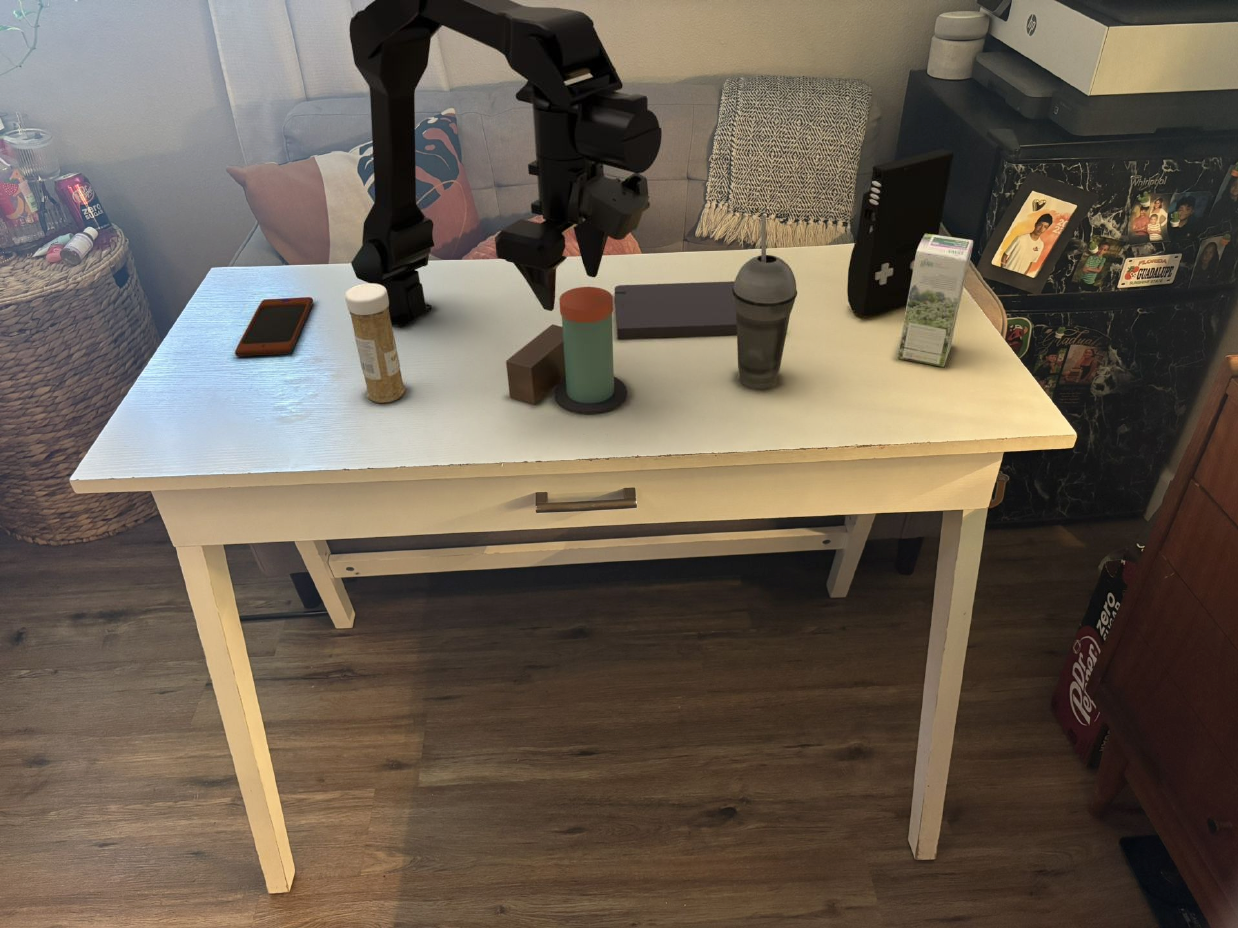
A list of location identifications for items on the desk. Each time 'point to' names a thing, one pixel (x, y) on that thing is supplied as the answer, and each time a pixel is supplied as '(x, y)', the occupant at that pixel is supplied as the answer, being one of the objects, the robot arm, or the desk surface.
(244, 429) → the desk surface
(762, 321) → the beverage cup
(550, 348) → the block
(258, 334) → the smartphone
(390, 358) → the sprinkles bottle
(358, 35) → the robot arm
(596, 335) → the container
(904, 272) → the handheld gaming console
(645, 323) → the notebook
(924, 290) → the syrup box
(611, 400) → the coaster
